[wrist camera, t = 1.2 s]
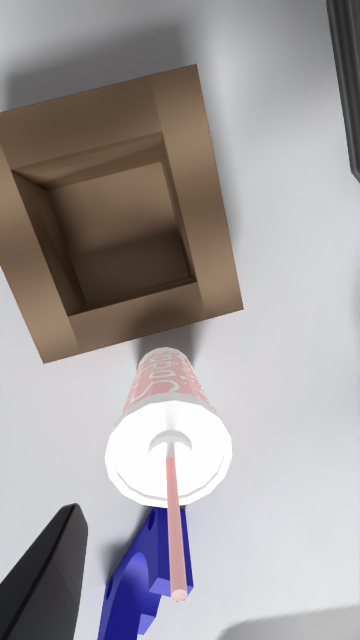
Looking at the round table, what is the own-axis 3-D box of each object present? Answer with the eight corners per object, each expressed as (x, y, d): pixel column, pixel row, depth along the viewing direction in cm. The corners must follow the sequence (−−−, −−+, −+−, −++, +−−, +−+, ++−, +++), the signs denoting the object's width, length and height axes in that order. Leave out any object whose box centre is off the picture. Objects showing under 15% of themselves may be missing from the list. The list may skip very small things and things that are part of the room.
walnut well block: (222, 296, 19) (243, 309, 15) (72, 337, 19) (43, 364, 14) (184, 121, 16) (196, 63, 11) (5, 166, 16) (-61, 127, 11)
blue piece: (145, 594, 27) (141, 686, 21) (106, 584, 26) (91, 678, 20) (198, 513, 25) (210, 591, 19) (157, 499, 24) (157, 577, 18)
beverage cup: (204, 339, 20) (302, 507, 7) (197, 406, 22) (264, 656, 8) (128, 335, 20) (63, 512, 6) (125, 405, 21) (69, 673, 7)
